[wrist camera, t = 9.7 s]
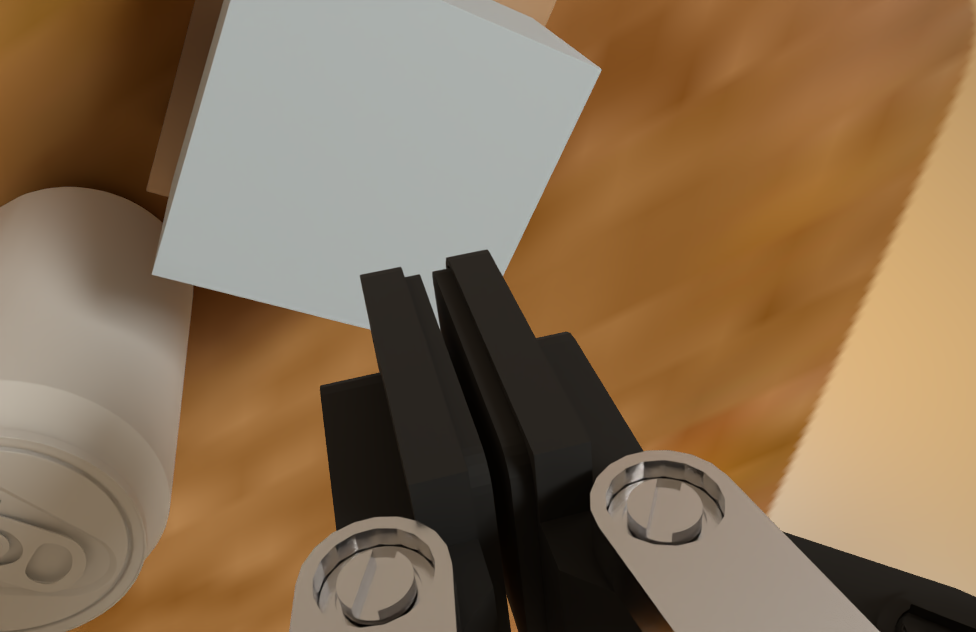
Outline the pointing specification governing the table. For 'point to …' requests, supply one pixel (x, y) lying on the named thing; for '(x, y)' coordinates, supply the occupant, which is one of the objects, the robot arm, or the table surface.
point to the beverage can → (83, 402)
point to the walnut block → (201, 29)
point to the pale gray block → (364, 146)
